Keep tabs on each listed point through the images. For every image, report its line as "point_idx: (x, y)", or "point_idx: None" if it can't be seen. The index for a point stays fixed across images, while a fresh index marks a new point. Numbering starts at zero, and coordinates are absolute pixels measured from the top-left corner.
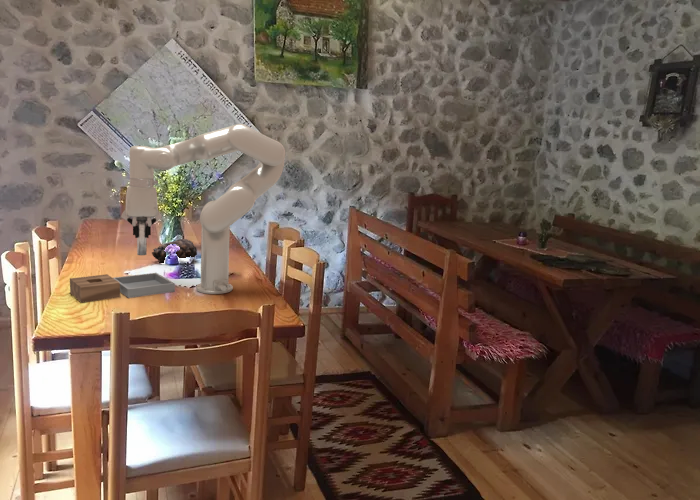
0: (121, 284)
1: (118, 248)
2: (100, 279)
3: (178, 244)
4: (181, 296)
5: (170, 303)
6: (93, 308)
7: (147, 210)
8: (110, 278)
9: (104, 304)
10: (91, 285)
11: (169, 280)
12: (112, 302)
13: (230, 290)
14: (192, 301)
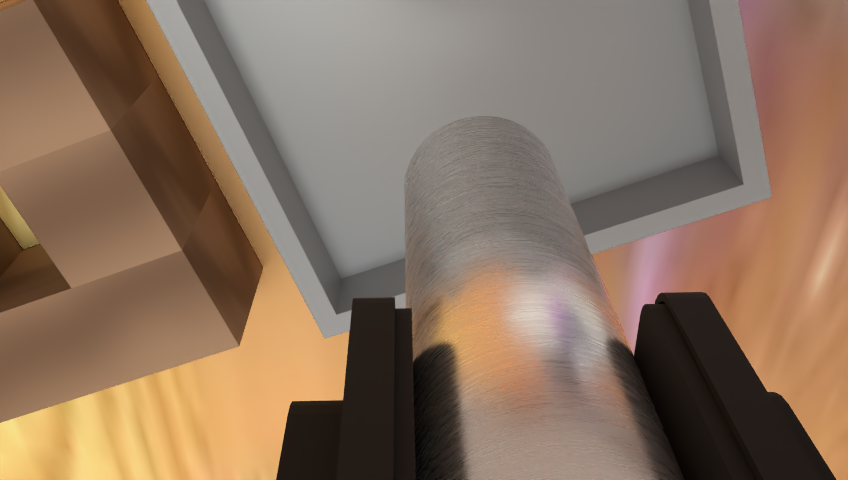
0: (247, 186)
1: None
2: (19, 210)
3: None
4: (754, 296)
5: None
6: (118, 470)
7: None
8: (117, 192)
9: (173, 406)
10: (2, 402)
11: (747, 86)
12: (223, 373)
13: None
14: (795, 414)
